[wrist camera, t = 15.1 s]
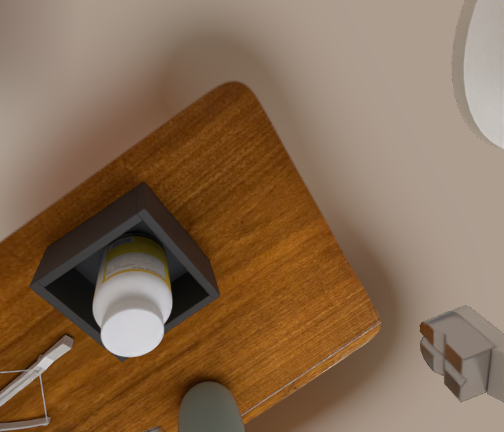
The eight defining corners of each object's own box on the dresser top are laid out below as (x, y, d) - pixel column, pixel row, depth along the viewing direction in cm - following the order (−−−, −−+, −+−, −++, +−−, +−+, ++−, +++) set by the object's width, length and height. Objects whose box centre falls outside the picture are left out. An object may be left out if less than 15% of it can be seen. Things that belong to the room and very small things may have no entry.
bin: (144, 180, 37) (144, 208, 31) (209, 260, 42) (220, 295, 36) (46, 247, 37) (28, 287, 31) (124, 317, 43) (122, 362, 37)
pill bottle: (131, 294, 41) (128, 379, 31) (86, 256, 38) (66, 336, 28) (179, 259, 41) (192, 332, 30) (138, 217, 37) (137, 284, 27)
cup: (211, 420, 53) (225, 495, 44) (163, 406, 50) (168, 484, 41) (243, 381, 52) (265, 451, 43) (197, 364, 48) (209, 436, 40)
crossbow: (20, 436, 47) (14, 452, 45) (-84, 392, 41) (-96, 410, 39) (114, 362, 45) (112, 377, 43) (18, 305, 39) (11, 319, 37)
